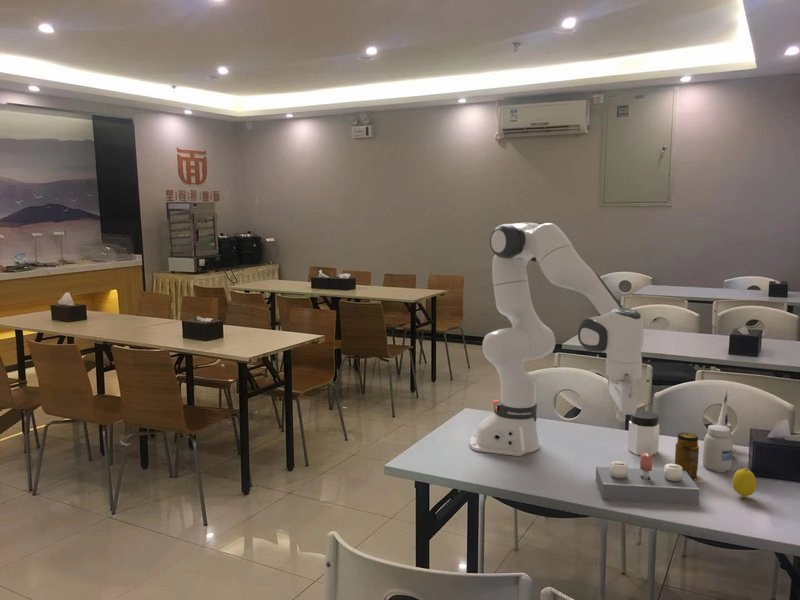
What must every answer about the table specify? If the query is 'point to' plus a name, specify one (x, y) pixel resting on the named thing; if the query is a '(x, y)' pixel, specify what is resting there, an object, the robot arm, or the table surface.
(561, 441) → the table surface
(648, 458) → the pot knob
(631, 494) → the mount
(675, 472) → the knob
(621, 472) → the knob
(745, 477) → the lemon
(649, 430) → the jar
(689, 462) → the condiment
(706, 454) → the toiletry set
